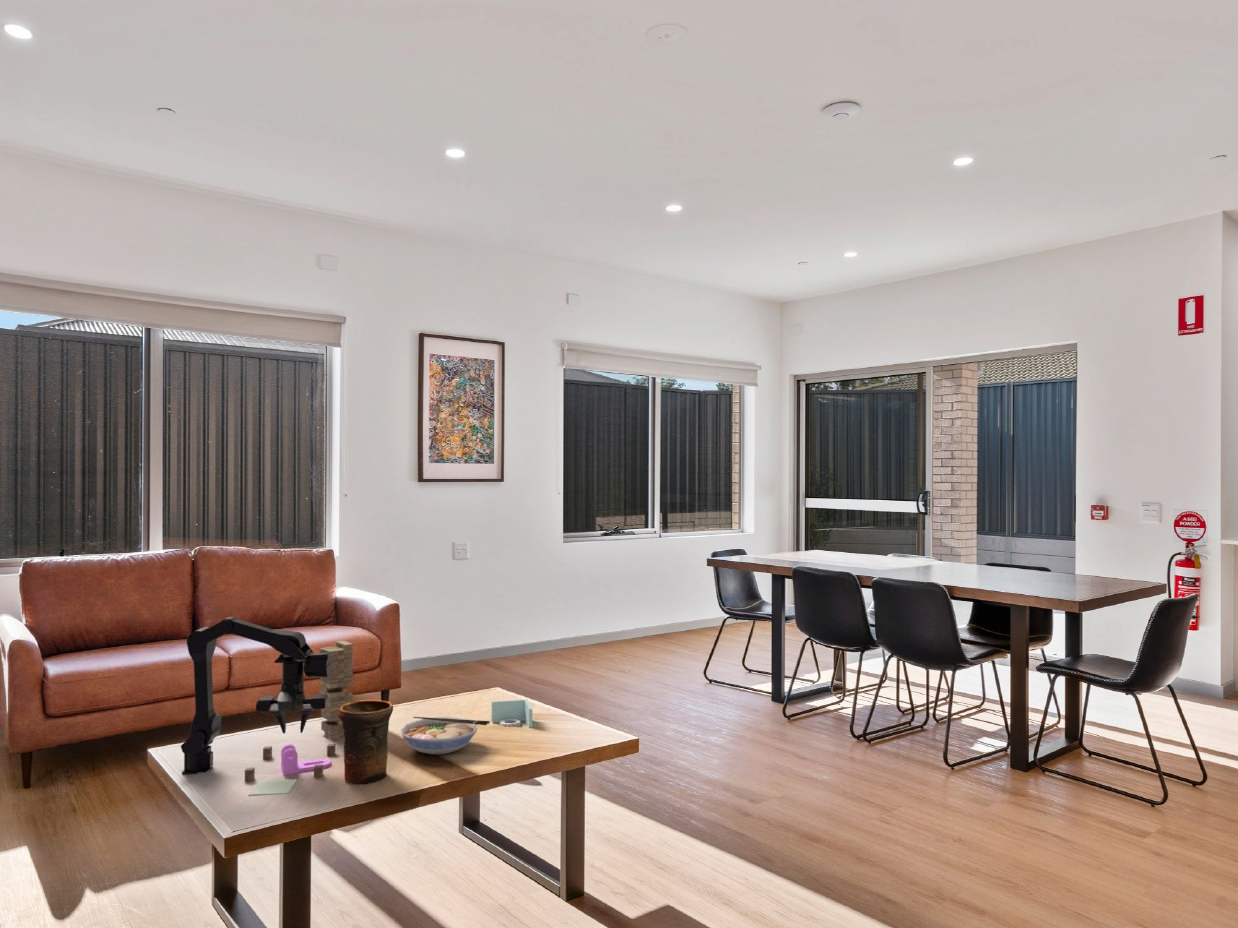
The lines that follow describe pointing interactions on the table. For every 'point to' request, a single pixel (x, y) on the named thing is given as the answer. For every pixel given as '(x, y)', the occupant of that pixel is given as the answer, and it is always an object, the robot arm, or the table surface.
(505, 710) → the right angle wall
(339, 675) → the block tower
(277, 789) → the felt pad
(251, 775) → the tiny cardboard boxes
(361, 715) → the vessel
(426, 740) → the ramen bowl
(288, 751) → the bracket
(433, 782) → the table surface
